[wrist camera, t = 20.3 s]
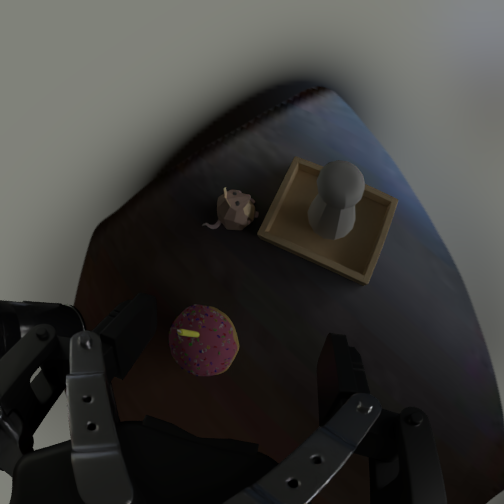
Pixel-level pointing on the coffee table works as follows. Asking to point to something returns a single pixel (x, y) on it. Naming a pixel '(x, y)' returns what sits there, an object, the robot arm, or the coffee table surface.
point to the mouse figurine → (234, 210)
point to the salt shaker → (336, 200)
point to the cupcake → (203, 340)
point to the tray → (314, 246)
